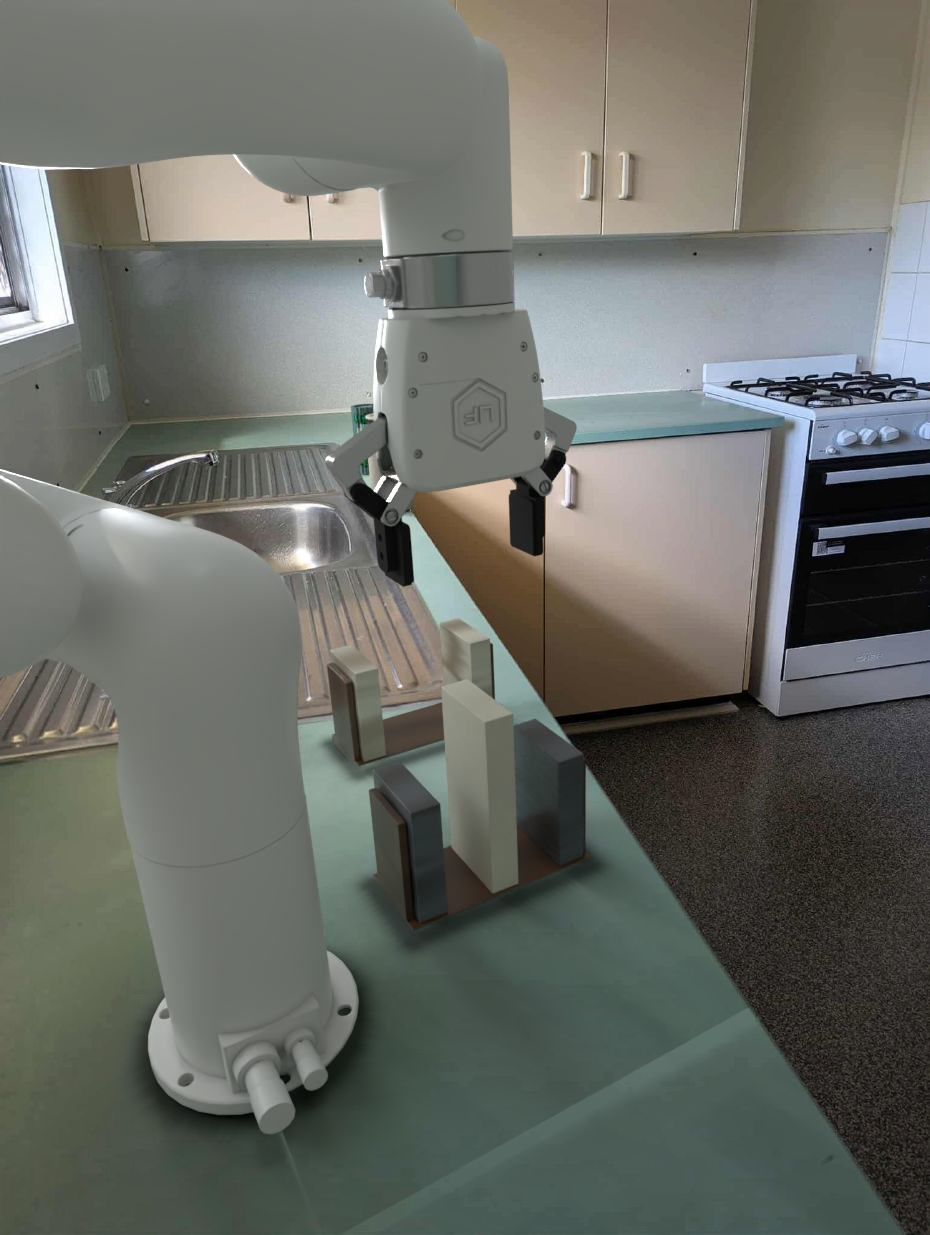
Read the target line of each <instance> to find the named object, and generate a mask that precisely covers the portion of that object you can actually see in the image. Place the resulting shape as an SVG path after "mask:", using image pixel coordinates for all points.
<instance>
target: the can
mask: <svg viewBox="0 0 930 1235" xmlns="http://www.w3.org/2000/svg"><path fill="white" fill-rule="evenodd" d="M350 413H351V414H350V415H351V423H352V424H351V425H352V434H353V435H352V437H353V436H355V435H356V434H357V433H359V432H360V431H361V430H363V429H364V428H365V427H367V426H368V420H367V419H366V415H368V414H372V413H374V406H373V403H359V404H358V403H357V404H354V405H351V406H350ZM360 474H361V475H369V476H370V474H369V463H368V459H367V460H365V461H364V462H363V463H362V464H361V465H360Z"/></svg>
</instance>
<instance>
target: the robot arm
mask: <svg viewBox="0 0 930 1235" xmlns="http://www.w3.org/2000/svg"><path fill="white" fill-rule="evenodd" d="M508 74H509V73H508V67H507V63H506V59H505V57H504V55H503V53H502V52H501V50H500V49H499V47H497V46H496V44H494V43H493V42H491V41H489V40H487V39H484V38H482V37H478V36H474V35H473V34H472V32H471V30H470V28H469V27H468V24H467V23H466V22H465V20H464V19H463V18H462V16H461V15H460V13H459V12H458V11H457V9H456V8H455V7H454V6H453V5H451V3H450V2H449V1H448V0H0V165H5V166H12V167H20V168H28V169H39V170H76V169H81V170H97V169H110V168H119V167H127V166H135V165H141V164H146V163H147V164H148V163H154V162H159V161H167V160H174V159H181V158H182V159H183V158H191V157H205V156H221V155H223V156H226V155H227V156H228V155H229V156H231V155H233V157H234V158H235V160H236V161H237V162H238V163H239V165H240V166H241V167H242V168H243V169H244V170H245V171H246V172H247V173H248V174H249V175H250V176H251V177H252V178H254V179H255V180H256V181H258V182H260V183H262V184H263V185H265V186H266V187H269V188H271V189H273V190H275V191H278V192H281V193H283V194H288V195H292V196H298V197H299V196H300V197H317V196H325V195H332V194H338V193H343V192H344V193H345V192H349V191H350V192H351V191H355V190H359V189H366V188H367V189H369V188H370V189H374V190H375V191H377V192H378V201H379V212H380V214H379V215H380V226H381V239H382V252H383V257H384V259H381V260H380V266H381V268H380V269H378V270H377V271H374V272H373V271H372V272H366V273H365V275H364V279H363V280H364V281H363V282H364V283H363V284H364V286H363V287H364V290H365V291H364V292H365V295H366V296H367V297H368V298H369V299H372V298H379V299H381V300H383V306H384V308H387V313H388V314H387V316H388V317H381V318H379V319H378V326H377V334H376V343H375V351H374V364H373V400H372V401H373V403H372V404H373V406H374V421H373V422H372V423H371V424H369V425H368V426H367V427H365V428H364V429H363V430H361V431H360V432H359V433H357V434H356V435H355V436H353V435H352V437H350V438H349V439H347V440H346V441H345V442H344V443H343V444H341V445H339V446H338V447H337V448H336V449H334V450H333V451H331V452H330V453H329V454H328V455H327V456H326V457H325V466H326V468H327V470H328V471H329V473H330V474H331V476H332V477H333V478H334V480H335V481H336V483H337V485H338V486H339V487H340V488H341V490H342V491H343V494H344V496H345V497H346V499H347V500H349V501H350V502H352V503H353V504H354V505H356V507H358V508H359V509H361V511H363V512H364V513H366V515H367V516H368V517H370V518H372V519H373V526H374V527H373V528H374V538H375V549H376V559H377V560H376V561H377V565H378V568H379V569H380V571H381V572H383V573H384V575H385V576H386V577H387V578H389V579H390V580H392V581H393V582H394V583H396V584H397V585H400V587H402V588H403V587H404V588H405V587H409V586H412V585H413V583H414V582H415V574H414V572H415V571H414V559H413V546H412V533H411V527H410V525H409V524H408V523H406V522H404V521H403V516H404V514H405V513H406V512H407V511H408V510H407V508H408V506H409V505H410V503H411V501H412V500H413V501H414V498H415V497H416V495H417V493H418V492H419V493H435V492H442V491H449V490H454V489H460V488H465V487H471V486H476V485H482V484H483V485H484V484H488V483H494V482H498V481H503V480H511V482H512V483H513V484H514V485H515V489H514V488H513V489H510V490H509V494H508V518H509V520H508V521H509V522H508V524H509V543H510V546H511V547H512V548H515V549H516V550H519V551H521V552H524V553H525V554H528V555H530V556H533V557H538V556H539V557H540V556H542V555H543V554H544V537H545V535H546V521H545V520H546V511H545V510H546V504H545V497H548V496H549V495H551V493H552V491H553V487H554V485H553V482H554V481H555V479H556V478H557V477H558V475H559V474H560V472H561V471H562V469H563V468H564V467H565V465H566V463H567V456H566V455H567V453H569V450H570V447H571V445H572V443H573V440H574V437H575V435H576V432H577V429H578V428H577V423H576V422H575V421H574V420H572V419H570V418H567V417H565V416H563V415H561V414H559V413H558V412H555V411H553V410H551V409H549V408H547V407H545V406H544V399H543V390H542V379H541V372H540V371H541V370H540V363H539V358H538V352H537V351H538V350H537V346H536V342H535V336H534V333H533V328H532V323H531V320H530V316H529V313H528V312H529V311H528V310H527V309H523V308H521V309H520V308H516V302H515V300H516V299H515V262H514V251H513V250H514V236H513V201H512V200H513V198H512V192H513V191H512V162H511V159H512V158H511V155H512V154H511V126H510V124H511V121H510V120H511V119H510V91H509V90H510V88H509V87H510V86H509V75H508ZM375 453H376V458H377V464H378V469H379V471H380V474H381V475H382V476H383V477H382V478H381V480H380V481H379V483H378V485H377V486H376V488H375V490H373V489H371V486H369V485H367V483H366V482H365V480H364V477H363V475H362V474H360V465H361V464H362V463H363V462H364V461H365V460H367V459H368V458H369V457H371V456H372V455H373V454H375ZM301 626H302V625H301V619H300V613H299V610H298V606H297V604H296V600H295V598H294V597H293V595H292V593H291V591H290V588H289V587H288V585H287V583H286V582H285V580H284V579H283V578H282V576H281V575H280V573H278V571H277V570H276V569H275V568H274V567H273V566H272V565H271V564H270V563H268V561H266V560H265V559H264V558H262V556H261V555H259V553H257V552H255V551H253V550H252V549H250V548H249V547H248V546H245V545H243V544H242V543H240V542H239V541H236V540H234V539H231V538H229V537H227V536H224V535H222V534H219V533H216V532H213V531H210V530H207V529H203V528H201V527H197V526H194V525H191V524H189V523H188V524H187V523H185V522H181V521H177V520H173V519H168V518H165V517H162V516H159V515H156V514H153V513H149V512H146V511H142V510H140V509H136V508H133V507H130V506H126V505H124V504H119V503H116V502H113V501H112V502H111V501H109V500H105V499H102V498H99V497H95V496H91V495H88V494H84V493H81V492H78V491H74V490H71V489H67V488H64V487H61V486H57V485H54V484H51V483H49V482H44V481H41V480H38V479H34V478H32V477H28V476H24V475H20V474H17V473H14V472H10V471H8V470H4V469H1V468H0V679H3V678H7V677H10V676H13V675H16V674H18V673H19V672H21V671H24V670H26V669H29V668H30V667H33V666H35V665H37V664H38V663H40V662H41V661H42V660H48V661H54V662H57V663H61V664H65V665H67V666H69V667H71V668H72V669H74V670H75V671H77V672H78V673H80V674H81V675H83V677H85V678H86V679H87V680H88V681H90V682H91V683H92V684H94V685H96V686H97V687H98V688H100V689H101V690H102V689H103V690H104V691H105V692H106V693H105V694H106V695H108V696H109V698H110V699H109V700H110V702H111V705H112V707H113V709H114V713H115V718H116V725H117V752H116V782H117V783H116V784H117V790H118V791H117V792H118V797H119V804H120V809H121V813H122V817H123V818H122V819H123V823H124V827H125V831H126V835H127V841H128V843H129V845H130V850H131V854H132V859H133V863H134V867H135V871H136V876H137V880H138V884H139V889H140V893H141V898H142V902H143V907H144V911H145V916H146V920H147V924H148V925H147V926H148V928H149V933H150V938H151V942H152V946H153V950H154V955H155V959H156V964H157V968H158V972H159V976H160V981H161V986H162V990H163V993H164V998H163V999H162V1000H161V1002H160V1003H159V1005H158V1007H157V1008H156V1011H155V1012H154V1015H153V1016H152V1019H151V1023H150V1027H149V1029H148V1030H149V1031H148V1036H147V1052H148V1056H149V1057H148V1058H149V1061H150V1062H149V1063H150V1067H151V1070H152V1072H153V1075H154V1077H155V1079H156V1081H157V1084H158V1085H159V1086H160V1087H161V1088H162V1090H163V1091H164V1092H165V1094H167V1096H168V1097H170V1098H171V1099H173V1100H175V1102H177V1103H179V1104H181V1106H184V1107H186V1108H189V1109H192V1110H194V1111H195V1112H200V1113H206V1114H212V1115H216V1116H229V1115H230V1116H235V1115H236V1116H237V1115H238V1116H241V1115H245V1114H251V1113H253V1114H254V1117H255V1119H256V1122H257V1125H258V1128H259V1130H260V1132H262V1133H263V1134H265V1135H276V1134H278V1133H280V1132H283V1131H284V1130H285V1129H286V1128H287V1127H289V1126H290V1125H291V1124H292V1122H293V1120H294V1119H295V1117H296V1116H295V1115H296V1107H295V1105H294V1103H293V1101H292V1099H291V1098H292V1097H291V1096H290V1093H289V1092H291V1091H293V1090H295V1089H297V1088H299V1087H300V1086H302V1085H303V1087H304V1088H305V1090H307V1091H310V1092H313V1091H315V1090H318V1089H320V1088H321V1087H323V1086H324V1085H325V1084H326V1082H327V1081H328V1078H329V1072H328V1071H327V1069H326V1067H327V1066H329V1065H330V1063H332V1061H333V1060H335V1058H336V1057H337V1056H338V1055H339V1053H340V1052H341V1051H342V1050H343V1048H344V1047H345V1045H346V1043H347V1041H348V1040H349V1038H350V1036H351V1035H352V1033H353V1030H354V1027H355V1025H356V1022H357V1019H358V1013H359V1004H360V1001H359V1000H360V999H359V991H358V985H357V982H356V980H355V978H354V975H353V973H352V972H351V971H350V969H349V968H348V966H347V965H346V964H345V962H344V961H343V960H342V959H340V958H339V957H337V955H336V954H334V953H333V952H331V951H329V950H327V949H328V948H327V942H326V934H325V926H324V921H323V920H324V919H323V914H322V906H321V897H320V891H319V882H318V876H317V869H316V860H315V854H314V847H313V846H314V845H313V840H312V831H311V824H310V816H309V809H308V803H307V796H306V792H305V784H304V776H303V768H302V759H301V752H300V750H301V749H300V739H299V725H298V724H299V723H298V722H299V720H298V719H299V717H298V714H299V713H298V703H299V702H298V700H299V686H300V675H301V662H302V647H303V646H302V639H303V638H302V627H301ZM345 1008H347V1009H349V1010H351V1011H350V1012H349V1013H348V1014H347V1015H340V1014H339V1012H340V1010H342V1009H345ZM281 1076H288V1077H289V1078H290V1079H289V1081H288V1082H287V1083H285V1082H284V1080H283V1079H282V1078H281Z"/></svg>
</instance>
